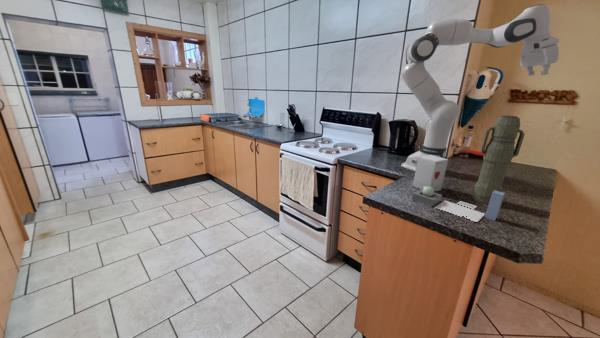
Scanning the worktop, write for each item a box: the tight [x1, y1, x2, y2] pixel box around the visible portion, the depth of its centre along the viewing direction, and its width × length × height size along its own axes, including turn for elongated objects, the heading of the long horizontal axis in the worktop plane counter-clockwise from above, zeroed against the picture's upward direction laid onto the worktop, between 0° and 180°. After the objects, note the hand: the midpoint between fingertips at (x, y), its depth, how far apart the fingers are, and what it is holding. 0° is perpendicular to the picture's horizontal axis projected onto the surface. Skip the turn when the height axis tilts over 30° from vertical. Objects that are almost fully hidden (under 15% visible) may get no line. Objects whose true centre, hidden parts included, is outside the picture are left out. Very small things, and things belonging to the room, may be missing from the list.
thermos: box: [471, 115, 525, 206], centre depth 96 cm, size 9×12×35 cm
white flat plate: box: [434, 200, 486, 223], centre depth 92 cm, size 14×10×1 cm
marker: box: [484, 190, 506, 221], centre depth 86 cm, size 3×3×10 cm
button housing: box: [411, 189, 443, 207], centre depth 100 cm, size 8×8×3 cm
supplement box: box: [412, 155, 449, 193], centre depth 111 cm, size 9×9×15 cm
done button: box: [422, 186, 435, 198], centre depth 99 cm, size 4×4×4 cm
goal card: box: [456, 200, 478, 210], centre depth 97 cm, size 6×4×1 cm, turn 39°
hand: (537, 75), depth 114 cm, fingers open, 8 cm apart
